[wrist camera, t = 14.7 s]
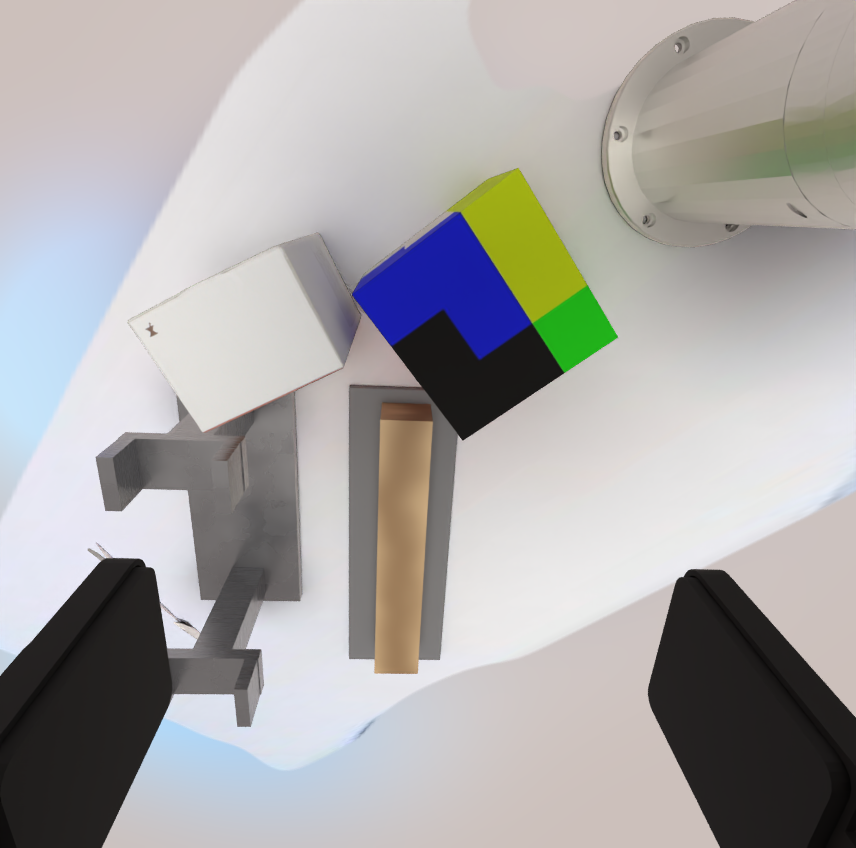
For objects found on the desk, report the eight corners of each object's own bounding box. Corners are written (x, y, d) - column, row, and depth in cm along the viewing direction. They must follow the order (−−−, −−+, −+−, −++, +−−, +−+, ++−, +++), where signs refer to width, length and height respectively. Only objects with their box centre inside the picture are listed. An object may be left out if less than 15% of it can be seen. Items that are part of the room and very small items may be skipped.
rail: (430, 404, 40) (432, 421, 37) (416, 642, 48) (417, 673, 45) (382, 402, 40) (380, 419, 36) (376, 641, 48) (374, 673, 44)
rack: (293, 376, 39) (243, 452, 27) (302, 593, 46) (265, 732, 34) (179, 372, 39) (75, 447, 27) (205, 591, 46) (132, 732, 33)
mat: (459, 389, 40) (460, 391, 40) (439, 654, 49) (439, 659, 49) (350, 385, 40) (349, 387, 39) (349, 653, 49) (349, 658, 48)
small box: (263, 366, 39) (199, 437, 27) (213, 283, 37) (120, 320, 25) (365, 317, 38) (346, 368, 26) (320, 229, 36) (277, 240, 24)
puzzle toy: (364, 273, 37) (351, 294, 28) (488, 178, 35) (518, 168, 26) (449, 387, 40) (462, 440, 31) (566, 306, 38) (618, 337, 29)
